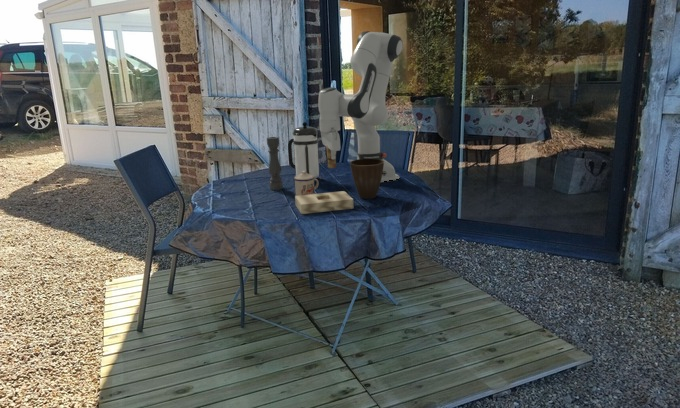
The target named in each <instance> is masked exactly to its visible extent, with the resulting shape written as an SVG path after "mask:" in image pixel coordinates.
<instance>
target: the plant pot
mask: <svg viewBox="0 0 680 408" xmlns="http://www.w3.org/2000/svg"><path fill="white" fill-rule="evenodd" d="M349 164H350V170H351V175H352V178H353V183H354V185H355V189H356V191H357V194H358V196H359V198H360V199H363V200H364V199H365V200H366V199H367V200H370V199H375V198H377V195H378V192H379V189H380V187H381V183H382V182H381V178H382V173H383V166H384V161H383V160H380V159H358V160H357V159H354V160H351V161H350V163H349Z"/></svg>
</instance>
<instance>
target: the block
mask: <svg viewBox="0 0 680 408" xmlns="http://www.w3.org/2000/svg"><path fill="white" fill-rule="evenodd" d="M294 200H295V201H294V202H295V205H294V206H295V207H296V208H297V209H298V211H299V213H300V214H301V215H305V214H315V213H323V212H331V211H332V212H333V211H341V210H343V211H344V210H350V209H351V210H352V209H354V198H352V197H351V196H350V194H348V193H347V192H346V191H345V190H342V191H332V192H323V193H322V192H321V193H314V194H310V195H300V196H296V195H295V196H294Z"/></svg>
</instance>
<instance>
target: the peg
mask: <svg viewBox="0 0 680 408" xmlns="http://www.w3.org/2000/svg"><path fill="white" fill-rule="evenodd" d="M325 147H326V159H327V168H328V169H335V168H337V158H336V159H333V160H332V159H331V150H330V149H329V148H328V146H327V145H326V146H325ZM335 156H336V157H337V154H336V155H335Z"/></svg>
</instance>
